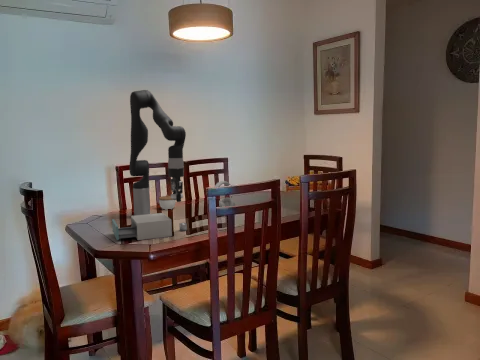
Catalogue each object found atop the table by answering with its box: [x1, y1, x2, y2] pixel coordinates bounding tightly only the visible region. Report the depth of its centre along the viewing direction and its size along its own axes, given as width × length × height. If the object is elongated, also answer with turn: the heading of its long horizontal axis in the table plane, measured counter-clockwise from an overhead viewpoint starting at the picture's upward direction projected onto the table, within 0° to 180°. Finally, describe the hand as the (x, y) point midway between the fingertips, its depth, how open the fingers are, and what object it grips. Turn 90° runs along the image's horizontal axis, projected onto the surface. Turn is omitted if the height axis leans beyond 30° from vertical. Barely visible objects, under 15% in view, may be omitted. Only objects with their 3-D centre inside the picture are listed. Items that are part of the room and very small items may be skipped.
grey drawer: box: [111, 218, 137, 241], centre depth 193 cm, size 18×16×6 cm
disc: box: [170, 193, 184, 199], centre depth 201 cm, size 6×6×2 cm
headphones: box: [214, 180, 236, 207], centre depth 240 cm, size 19×9×20 cm, turn 145°
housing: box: [130, 212, 173, 241], centre depth 197 cm, size 18×16×8 cm
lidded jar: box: [158, 194, 177, 211], centre depth 259 cm, size 11×11×9 cm
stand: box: [178, 222, 188, 232], centre depth 204 cm, size 4×4×4 cm
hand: (177, 200), depth 201 cm, fingers closed on disc, 6 cm apart
